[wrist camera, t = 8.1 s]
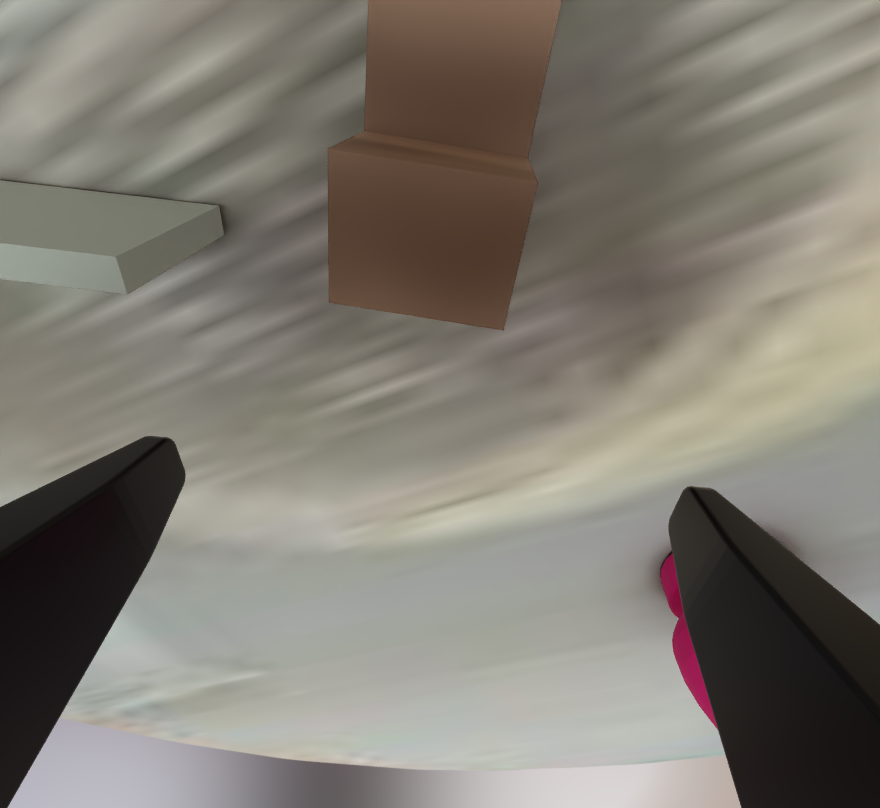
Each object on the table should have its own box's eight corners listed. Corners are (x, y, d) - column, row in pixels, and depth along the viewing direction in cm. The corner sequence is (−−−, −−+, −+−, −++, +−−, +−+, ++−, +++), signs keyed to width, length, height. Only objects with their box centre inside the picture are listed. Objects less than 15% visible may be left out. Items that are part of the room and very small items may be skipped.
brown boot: (500, 255, 17) (503, 330, 12) (375, 235, 17) (328, 302, 12) (563, -50, 12) (610, -128, 7) (391, -78, 12) (325, -175, 7)
